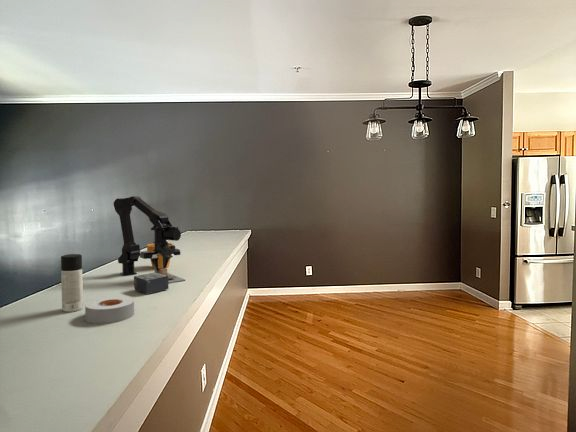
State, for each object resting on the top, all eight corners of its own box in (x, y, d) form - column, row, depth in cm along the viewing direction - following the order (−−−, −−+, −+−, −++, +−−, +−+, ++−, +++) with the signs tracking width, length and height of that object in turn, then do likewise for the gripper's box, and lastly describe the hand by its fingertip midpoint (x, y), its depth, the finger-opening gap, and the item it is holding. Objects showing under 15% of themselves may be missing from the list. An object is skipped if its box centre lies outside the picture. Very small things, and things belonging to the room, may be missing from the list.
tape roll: (89, 311, 133) (88, 298, 133) (134, 307, 139) (134, 294, 138) (82, 326, 119) (81, 311, 119) (133, 321, 124) (133, 306, 124)
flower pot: (146, 265, 214) (146, 243, 213) (171, 263, 220) (171, 242, 219) (148, 270, 201) (148, 246, 200) (175, 268, 207) (175, 245, 206)
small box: (134, 291, 161) (146, 295, 155) (133, 276, 161) (146, 279, 154) (155, 285, 169) (169, 289, 163) (155, 271, 169) (168, 275, 162)
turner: (150, 276, 185) (150, 268, 185) (163, 274, 190) (163, 266, 190) (162, 279, 175) (162, 271, 175) (176, 277, 180) (176, 269, 180)
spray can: (87, 307, 138) (86, 254, 137) (75, 312, 131) (73, 257, 130) (70, 306, 139) (69, 253, 137) (57, 312, 132) (56, 256, 131)
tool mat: (140, 276, 187) (140, 275, 187) (165, 273, 196) (165, 271, 196) (159, 285, 171) (159, 283, 171) (185, 280, 180) (185, 279, 180)
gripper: (148, 242, 171) (148, 276, 172) (185, 239, 184) (185, 270, 185) (139, 240, 179) (139, 272, 180) (175, 237, 192) (175, 267, 193)
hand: (160, 270), depth 184 cm, fingers open, 3 cm apart
